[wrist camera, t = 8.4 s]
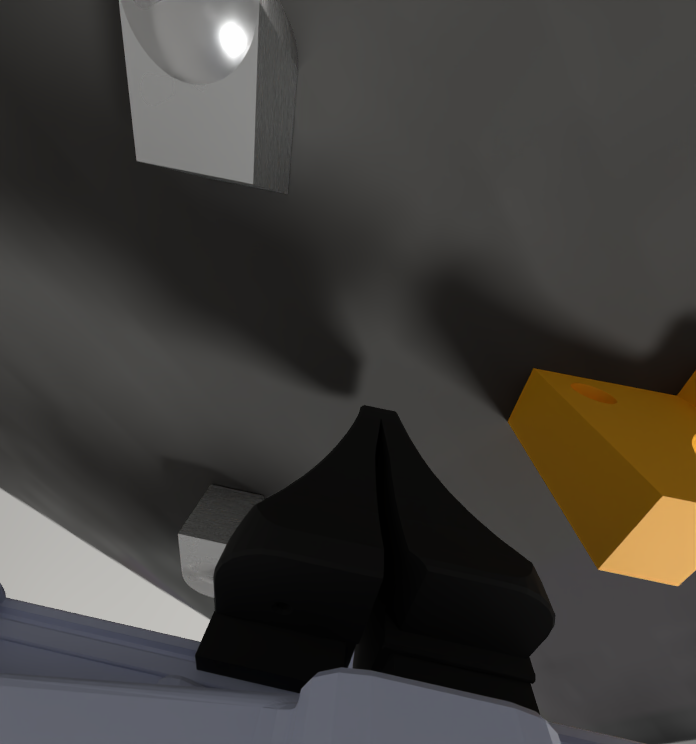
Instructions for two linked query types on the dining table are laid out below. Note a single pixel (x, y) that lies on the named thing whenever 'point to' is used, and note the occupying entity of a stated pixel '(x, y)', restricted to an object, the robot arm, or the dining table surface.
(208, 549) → the chain ends
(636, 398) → the pipe clamp
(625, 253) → the dining table surface
